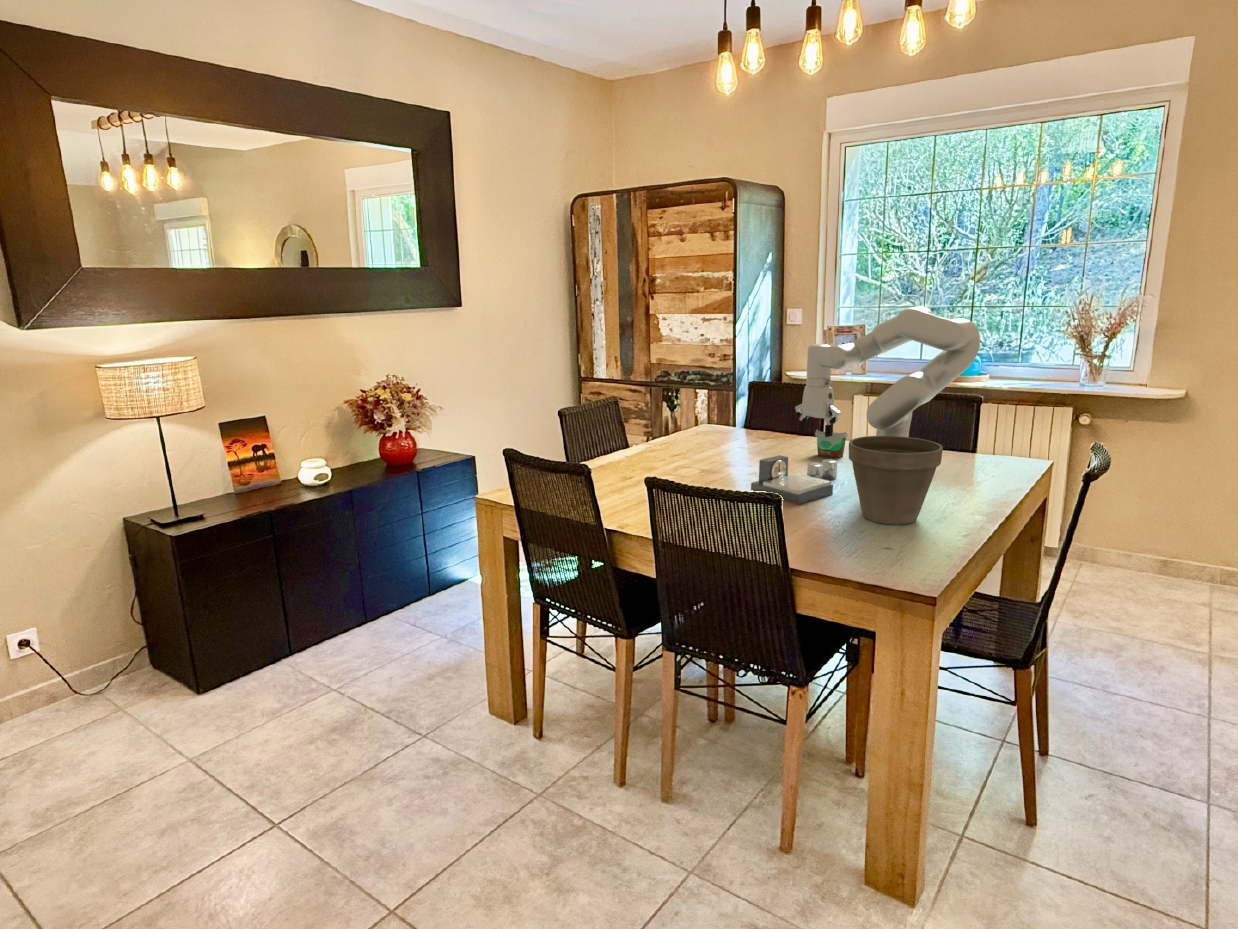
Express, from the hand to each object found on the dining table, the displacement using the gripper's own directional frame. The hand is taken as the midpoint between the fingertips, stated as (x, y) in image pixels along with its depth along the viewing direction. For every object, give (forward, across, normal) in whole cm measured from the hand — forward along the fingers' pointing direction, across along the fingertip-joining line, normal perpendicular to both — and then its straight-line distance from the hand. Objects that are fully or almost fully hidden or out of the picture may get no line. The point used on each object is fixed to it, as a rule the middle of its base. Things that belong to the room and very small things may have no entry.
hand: (816, 434), depth 248 cm
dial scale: (+16, -3, +16) cm, 23 cm away
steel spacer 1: (+16, 0, 0) cm, 16 cm away
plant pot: (+17, -37, +15) cm, 44 cm away
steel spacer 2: (+16, 0, -8) cm, 18 cm away
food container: (+16, +18, -32) cm, 41 cm away
